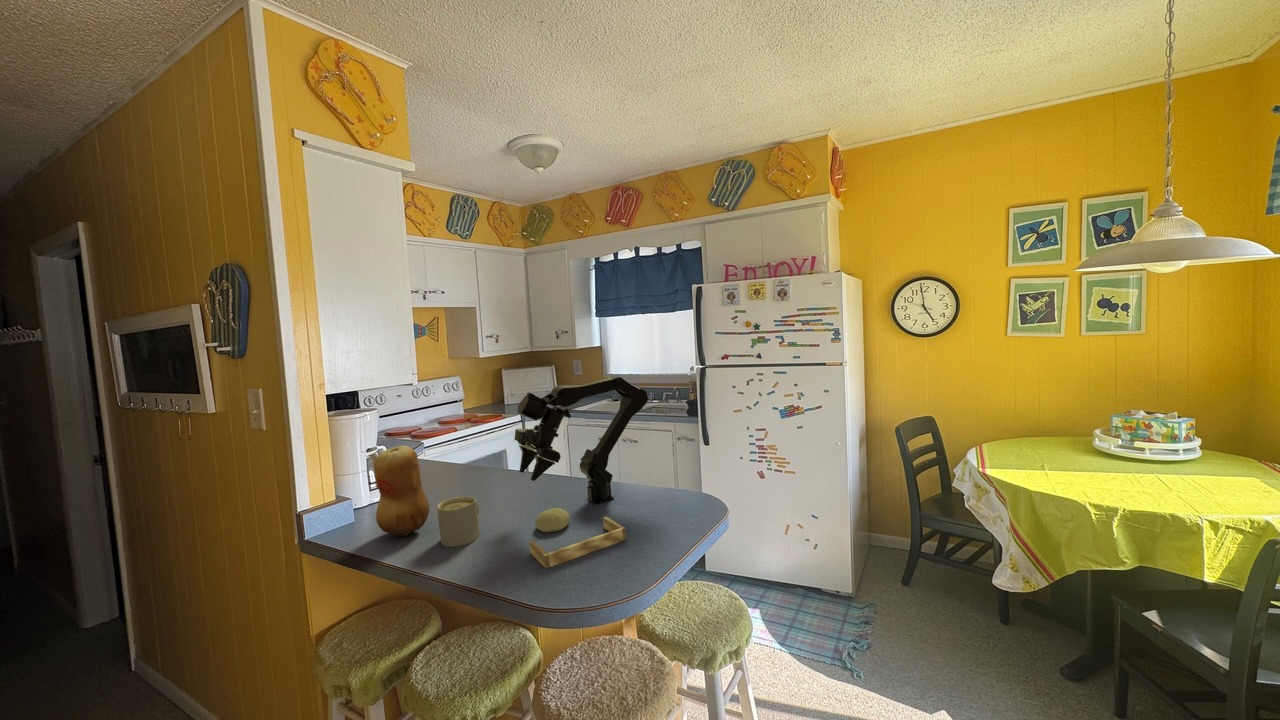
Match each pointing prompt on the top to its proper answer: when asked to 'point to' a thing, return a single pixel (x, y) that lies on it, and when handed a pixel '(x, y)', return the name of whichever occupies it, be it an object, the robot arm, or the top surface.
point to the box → (580, 545)
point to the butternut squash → (400, 491)
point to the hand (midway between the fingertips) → (526, 476)
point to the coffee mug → (458, 521)
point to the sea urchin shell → (552, 520)
